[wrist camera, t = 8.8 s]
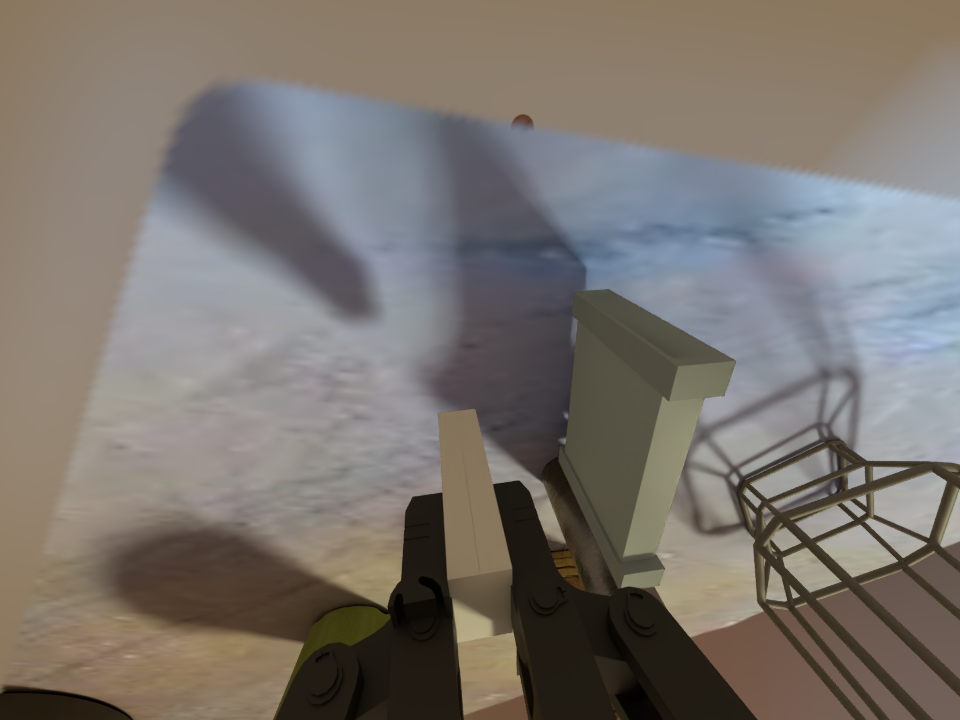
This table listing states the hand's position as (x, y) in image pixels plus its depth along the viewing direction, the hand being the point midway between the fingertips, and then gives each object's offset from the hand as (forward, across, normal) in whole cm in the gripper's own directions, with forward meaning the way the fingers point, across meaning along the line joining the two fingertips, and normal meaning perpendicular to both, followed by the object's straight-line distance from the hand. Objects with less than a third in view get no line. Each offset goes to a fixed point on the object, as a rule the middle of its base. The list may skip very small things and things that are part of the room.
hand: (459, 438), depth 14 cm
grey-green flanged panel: (+5, +7, -1) cm, 9 cm away
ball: (+48, +15, +16) cm, 52 cm away
